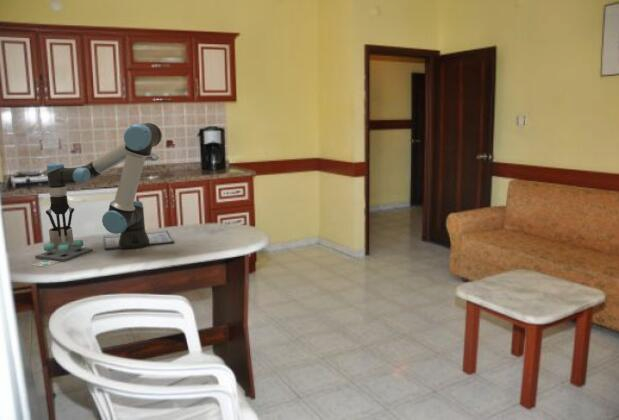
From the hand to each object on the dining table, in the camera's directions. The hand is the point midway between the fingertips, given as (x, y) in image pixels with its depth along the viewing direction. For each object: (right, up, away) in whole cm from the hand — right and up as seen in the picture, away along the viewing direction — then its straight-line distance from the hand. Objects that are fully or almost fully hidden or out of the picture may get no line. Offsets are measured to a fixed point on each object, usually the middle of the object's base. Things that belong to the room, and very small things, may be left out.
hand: (63, 242), depth 256 cm
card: (+1, -9, -19) cm, 21 cm away
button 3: (0, -4, +1) cm, 4 cm away
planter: (-6, -3, +11) cm, 13 cm away
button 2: (+5, -5, -11) cm, 13 cm away
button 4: (-3, -4, -8) cm, 9 cm away
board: (+3, -6, -5) cm, 8 cm away
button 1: (+9, -3, -3) cm, 10 cm away
